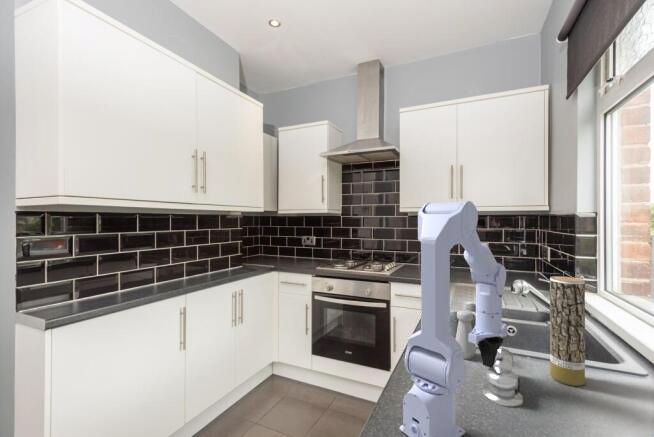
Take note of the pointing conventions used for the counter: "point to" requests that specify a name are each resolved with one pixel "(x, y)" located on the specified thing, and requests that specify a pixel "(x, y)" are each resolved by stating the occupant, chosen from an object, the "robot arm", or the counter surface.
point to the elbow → (503, 372)
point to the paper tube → (567, 330)
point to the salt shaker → (465, 333)
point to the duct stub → (503, 396)
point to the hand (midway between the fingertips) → (488, 366)
